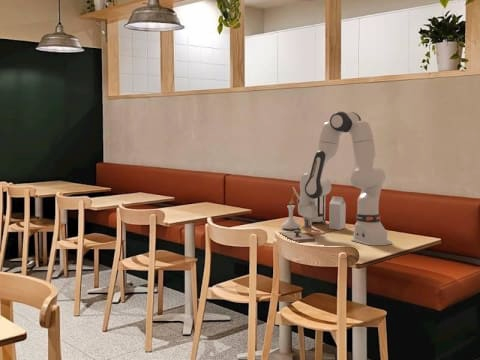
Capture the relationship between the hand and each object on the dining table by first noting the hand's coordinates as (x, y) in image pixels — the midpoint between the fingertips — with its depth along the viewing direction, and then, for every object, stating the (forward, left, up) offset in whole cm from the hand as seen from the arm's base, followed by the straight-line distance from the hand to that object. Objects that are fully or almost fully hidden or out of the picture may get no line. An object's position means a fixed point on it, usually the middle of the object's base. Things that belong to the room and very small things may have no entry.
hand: (308, 224), depth 341 cm
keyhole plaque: (-6, 0, -3) cm, 7 cm away
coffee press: (+28, -18, -5) cm, 33 cm away
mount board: (-12, +12, -5) cm, 18 cm away
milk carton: (+7, -22, -5) cm, 23 cm away
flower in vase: (+15, +4, -5) cm, 16 cm away
